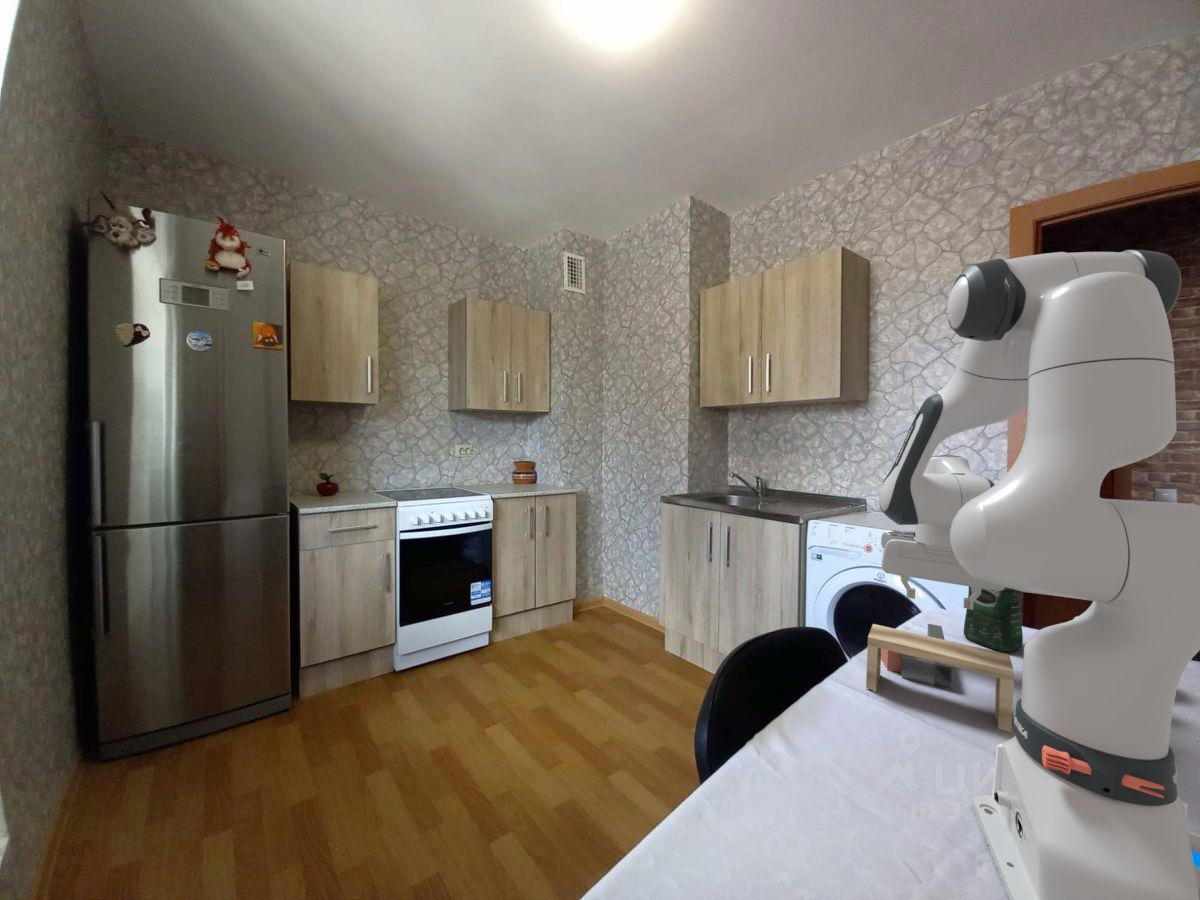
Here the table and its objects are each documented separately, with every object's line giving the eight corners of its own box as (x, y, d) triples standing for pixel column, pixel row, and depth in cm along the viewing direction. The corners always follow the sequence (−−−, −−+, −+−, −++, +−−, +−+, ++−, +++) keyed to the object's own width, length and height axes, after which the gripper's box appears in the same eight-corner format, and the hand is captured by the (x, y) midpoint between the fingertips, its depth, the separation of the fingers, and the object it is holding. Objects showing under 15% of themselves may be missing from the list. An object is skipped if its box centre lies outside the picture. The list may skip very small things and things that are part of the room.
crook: (950, 689, 83) (951, 668, 83) (901, 677, 87) (902, 656, 87) (940, 644, 101) (941, 626, 101) (900, 635, 105) (900, 618, 105)
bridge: (1011, 732, 71) (1014, 672, 71) (866, 688, 83) (868, 636, 82) (1006, 710, 77) (1009, 654, 76) (871, 672, 89) (873, 623, 88)
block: (916, 674, 88) (918, 648, 88) (887, 670, 90) (888, 644, 89) (907, 662, 93) (908, 637, 93) (879, 658, 94) (880, 634, 94)
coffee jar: (1029, 649, 99) (1033, 563, 98) (1007, 656, 96) (1012, 567, 95) (977, 631, 108) (981, 552, 107) (956, 637, 105) (960, 555, 104)
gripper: (879, 530, 98) (877, 595, 98) (1008, 545, 86) (1005, 619, 86) (883, 526, 103) (880, 588, 103) (1005, 539, 91) (1002, 610, 91)
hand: (938, 602), depth 94 cm, fingers open, 8 cm apart
